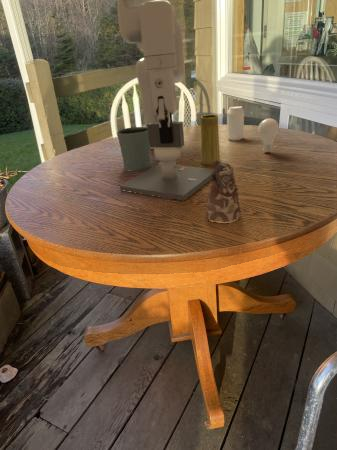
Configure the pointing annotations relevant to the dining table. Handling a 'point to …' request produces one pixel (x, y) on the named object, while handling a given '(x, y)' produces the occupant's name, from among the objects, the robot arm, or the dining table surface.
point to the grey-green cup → (135, 148)
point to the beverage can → (235, 123)
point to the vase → (209, 139)
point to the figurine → (223, 194)
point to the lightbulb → (268, 133)
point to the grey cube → (171, 149)
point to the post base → (169, 180)
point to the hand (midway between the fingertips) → (167, 140)
